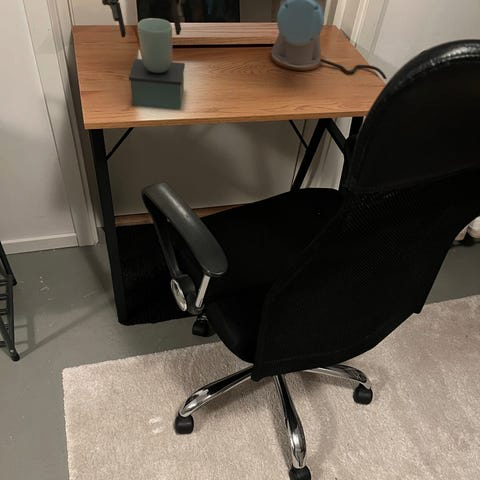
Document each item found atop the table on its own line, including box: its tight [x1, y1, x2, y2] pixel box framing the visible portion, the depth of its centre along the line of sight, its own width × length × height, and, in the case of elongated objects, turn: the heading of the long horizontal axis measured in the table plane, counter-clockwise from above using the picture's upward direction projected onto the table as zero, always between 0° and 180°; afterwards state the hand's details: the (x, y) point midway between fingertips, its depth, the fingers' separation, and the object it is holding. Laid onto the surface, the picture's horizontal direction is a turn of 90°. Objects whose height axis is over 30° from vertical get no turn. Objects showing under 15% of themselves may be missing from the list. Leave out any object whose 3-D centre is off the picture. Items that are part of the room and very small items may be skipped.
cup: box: [137, 17, 174, 73], centre depth 111 cm, size 8×8×10 cm
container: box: [128, 58, 186, 110], centre depth 117 cm, size 13×11×7 cm
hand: (151, 33), depth 113 cm, fingers open, 13 cm apart
